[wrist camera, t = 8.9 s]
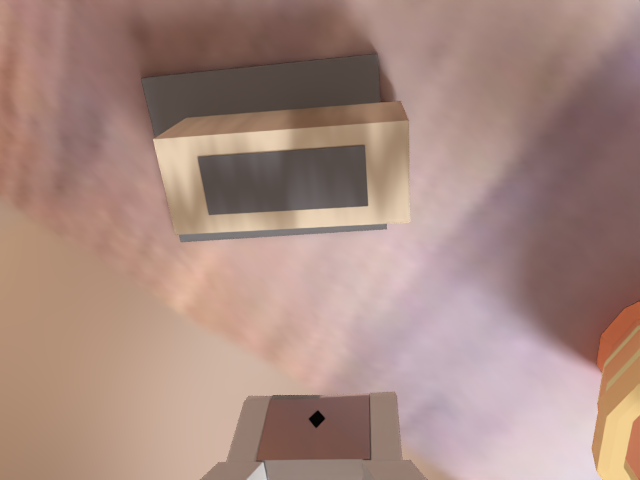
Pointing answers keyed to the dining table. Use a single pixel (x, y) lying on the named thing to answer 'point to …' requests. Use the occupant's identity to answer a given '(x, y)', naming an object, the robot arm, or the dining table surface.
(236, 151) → the birch block
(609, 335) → the potted cactus
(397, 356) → the dining table surface
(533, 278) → the dining table surface
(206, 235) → the mat
